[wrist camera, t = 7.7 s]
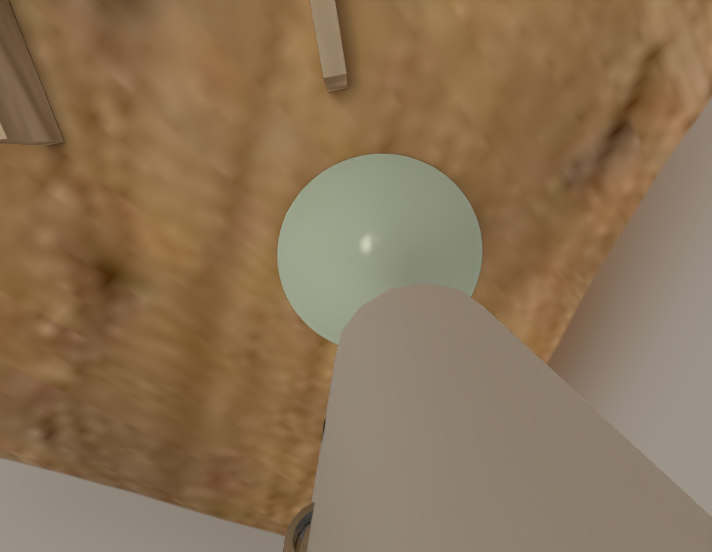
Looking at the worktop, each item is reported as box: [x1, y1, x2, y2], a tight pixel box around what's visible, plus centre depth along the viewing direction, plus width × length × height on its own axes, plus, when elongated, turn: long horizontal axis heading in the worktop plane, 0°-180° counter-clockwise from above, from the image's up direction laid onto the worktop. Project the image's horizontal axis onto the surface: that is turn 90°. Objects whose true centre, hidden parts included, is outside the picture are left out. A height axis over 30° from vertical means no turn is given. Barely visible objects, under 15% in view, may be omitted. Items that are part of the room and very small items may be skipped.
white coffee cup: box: [306, 283, 712, 552], centre depth 8 cm, size 7×7×10 cm
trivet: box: [277, 154, 482, 344], centre depth 25 cm, size 14×14×1 cm
